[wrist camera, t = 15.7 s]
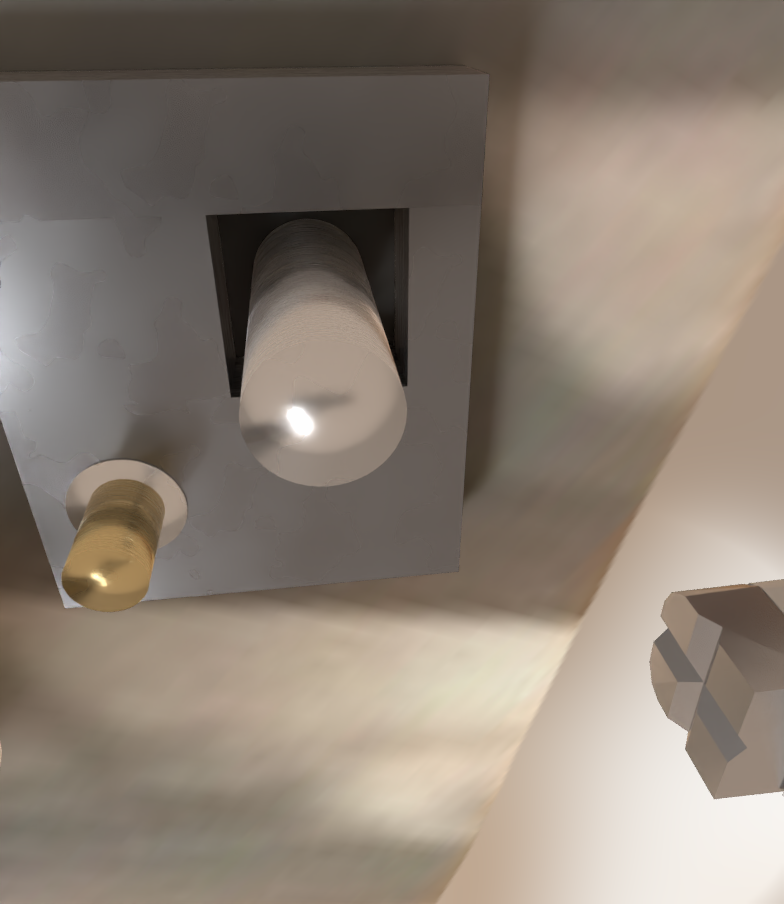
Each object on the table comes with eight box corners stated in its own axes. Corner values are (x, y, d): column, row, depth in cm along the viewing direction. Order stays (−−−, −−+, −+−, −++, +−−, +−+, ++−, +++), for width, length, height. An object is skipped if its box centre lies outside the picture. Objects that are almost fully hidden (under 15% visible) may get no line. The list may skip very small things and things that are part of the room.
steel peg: (364, 323, 20) (406, 479, 14) (258, 329, 20) (249, 492, 13) (362, 216, 19) (407, 335, 12) (246, 220, 19) (228, 345, 12)
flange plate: (443, 523, 25) (480, 642, 20) (84, 553, 23) (36, 689, 19) (463, 65, 17) (531, 88, 13) (-63, 72, 16) (-202, 101, 11)
